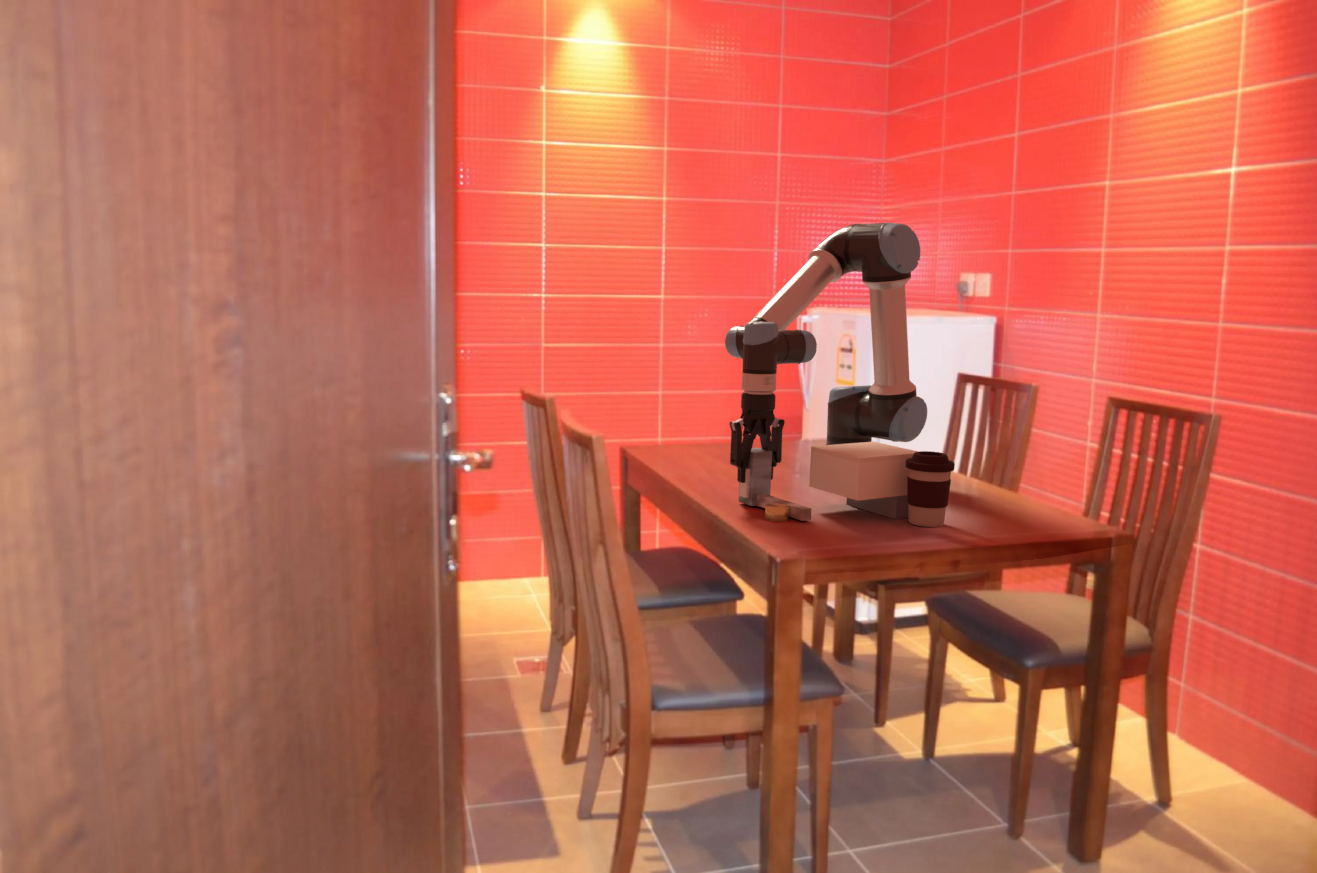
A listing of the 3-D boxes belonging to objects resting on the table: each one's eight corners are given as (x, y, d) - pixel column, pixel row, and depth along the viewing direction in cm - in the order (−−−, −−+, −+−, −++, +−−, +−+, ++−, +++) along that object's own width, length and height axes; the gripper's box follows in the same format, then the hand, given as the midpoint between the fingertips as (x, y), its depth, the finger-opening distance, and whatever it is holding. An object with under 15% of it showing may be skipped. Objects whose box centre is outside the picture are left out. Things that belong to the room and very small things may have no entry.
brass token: (760, 518, 224) (760, 504, 223) (777, 515, 227) (778, 502, 226) (775, 523, 220) (776, 509, 219) (793, 520, 223) (794, 506, 222)
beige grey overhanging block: (808, 508, 234) (811, 446, 232) (869, 501, 243) (873, 441, 241) (856, 524, 220) (859, 458, 218) (919, 515, 230) (923, 452, 227)
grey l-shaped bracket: (738, 501, 237) (740, 449, 235) (756, 499, 240) (758, 447, 238) (796, 521, 219) (799, 464, 218) (815, 519, 222) (818, 462, 220)
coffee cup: (917, 530, 216) (921, 458, 214) (893, 519, 226) (897, 450, 224) (959, 528, 219) (964, 457, 217) (934, 517, 229) (939, 449, 226)
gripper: (734, 395, 225) (730, 502, 228) (801, 392, 234) (797, 495, 237) (715, 391, 231) (711, 495, 235) (781, 389, 240) (776, 489, 244)
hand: (754, 495), depth 236 cm, fingers closed on grey l-shaped bracket, 5 cm apart
